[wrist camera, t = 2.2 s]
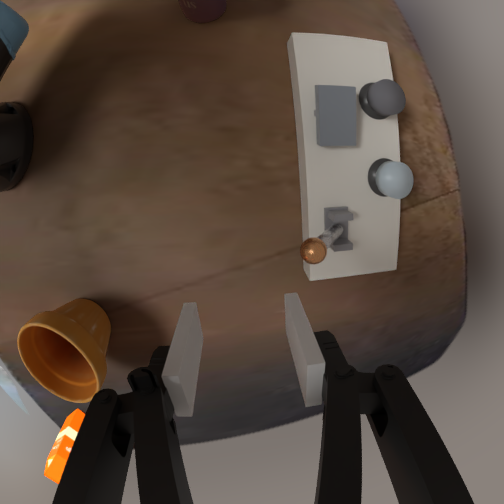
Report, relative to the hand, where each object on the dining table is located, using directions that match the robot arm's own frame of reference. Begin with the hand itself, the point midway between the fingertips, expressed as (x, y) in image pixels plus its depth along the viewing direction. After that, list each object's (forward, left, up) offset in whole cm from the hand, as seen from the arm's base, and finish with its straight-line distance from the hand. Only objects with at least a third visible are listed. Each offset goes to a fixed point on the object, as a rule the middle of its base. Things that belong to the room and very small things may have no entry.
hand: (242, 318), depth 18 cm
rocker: (+12, +14, -17) cm, 25 cm away
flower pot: (-27, -13, -23) cm, 38 cm away
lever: (+12, 0, -18) cm, 21 cm away
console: (+15, +9, -23) cm, 29 cm away
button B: (+19, +6, -17) cm, 26 cm away
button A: (+19, +16, -17) cm, 30 cm away
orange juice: (-42, -43, -23) cm, 64 cm away
